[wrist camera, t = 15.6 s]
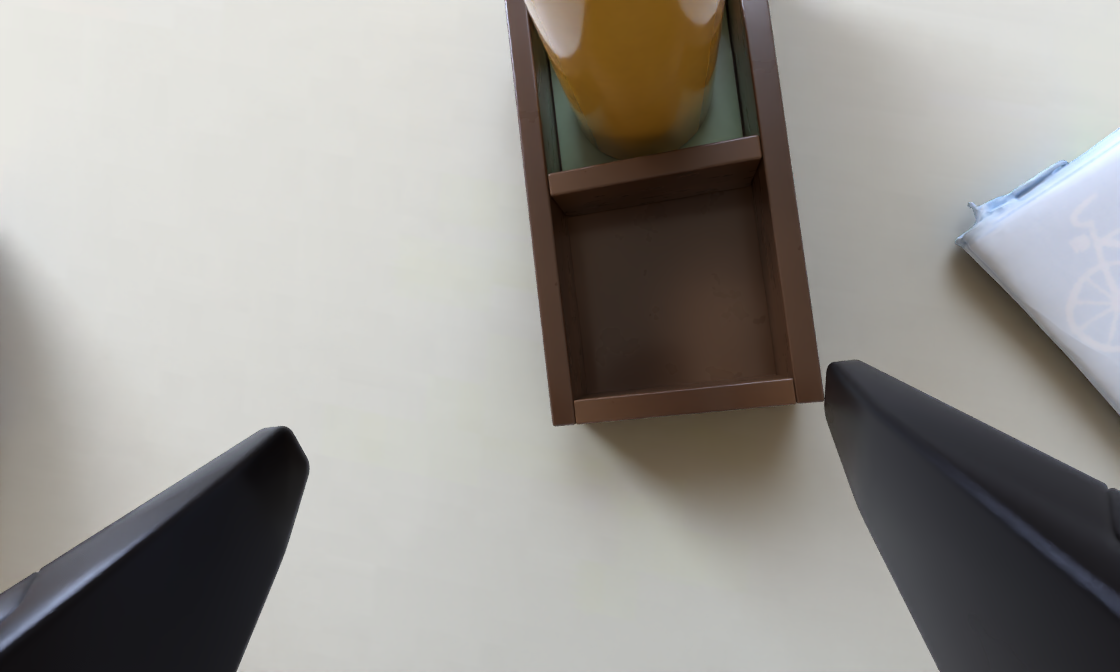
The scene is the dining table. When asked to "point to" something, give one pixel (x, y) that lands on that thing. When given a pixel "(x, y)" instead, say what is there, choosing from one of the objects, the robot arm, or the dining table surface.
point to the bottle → (633, 68)
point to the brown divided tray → (669, 246)
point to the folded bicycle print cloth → (1062, 257)
